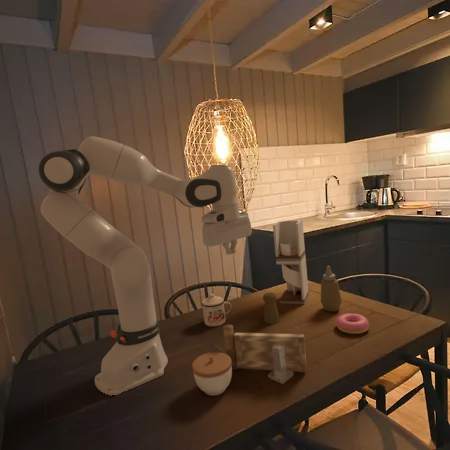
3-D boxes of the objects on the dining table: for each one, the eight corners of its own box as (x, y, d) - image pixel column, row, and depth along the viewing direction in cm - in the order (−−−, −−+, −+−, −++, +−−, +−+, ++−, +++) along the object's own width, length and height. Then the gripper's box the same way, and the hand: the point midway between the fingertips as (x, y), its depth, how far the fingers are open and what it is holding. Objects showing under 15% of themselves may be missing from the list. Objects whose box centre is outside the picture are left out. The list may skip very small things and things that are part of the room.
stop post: (283, 384, 87) (280, 353, 86) (268, 377, 91) (265, 347, 89) (293, 375, 90) (290, 345, 89) (279, 369, 94) (276, 340, 93)
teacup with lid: (207, 329, 125) (203, 300, 124) (201, 320, 134) (198, 293, 132) (236, 321, 129) (233, 293, 127) (228, 313, 138) (225, 287, 136)
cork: (279, 316, 129) (276, 290, 128) (280, 323, 123) (277, 295, 122) (264, 317, 130) (261, 291, 128) (264, 324, 124) (261, 297, 122)
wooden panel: (237, 366, 96) (234, 335, 95) (238, 363, 98) (235, 332, 96) (306, 369, 91) (303, 337, 89) (306, 366, 92) (303, 334, 91)
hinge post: (232, 371, 95) (227, 330, 94) (225, 368, 98) (220, 327, 96) (239, 366, 98) (235, 326, 96) (232, 363, 100) (228, 323, 98)
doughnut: (354, 319, 120) (354, 308, 119) (377, 331, 109) (376, 319, 109) (329, 326, 117) (329, 315, 116) (350, 339, 106) (349, 327, 106)
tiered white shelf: (285, 294, 153) (279, 221, 148) (308, 294, 149) (302, 219, 144) (280, 303, 143) (272, 225, 138) (304, 304, 138) (297, 223, 134)
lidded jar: (187, 392, 88) (183, 360, 87) (214, 372, 96) (210, 342, 95) (215, 407, 81) (211, 372, 80) (242, 384, 89) (238, 352, 88)
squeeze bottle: (317, 308, 133) (313, 265, 131) (333, 303, 135) (330, 262, 133) (329, 315, 126) (325, 270, 123) (346, 310, 128) (343, 266, 125)
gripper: (240, 209, 118) (244, 246, 120) (197, 218, 104) (202, 260, 106) (253, 209, 113) (257, 247, 115) (210, 218, 99) (215, 262, 101)
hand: (230, 253), depth 110 cm, fingers closed
